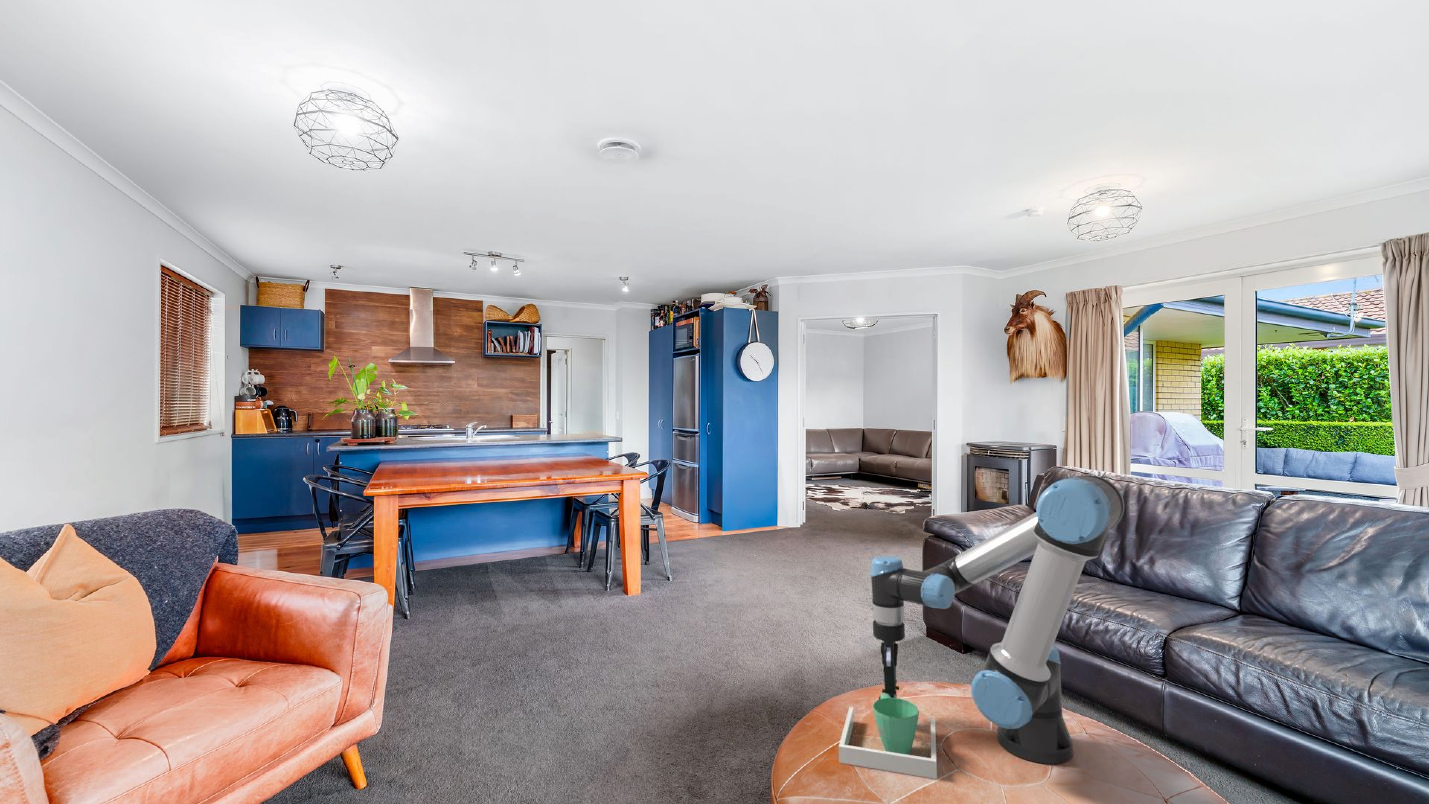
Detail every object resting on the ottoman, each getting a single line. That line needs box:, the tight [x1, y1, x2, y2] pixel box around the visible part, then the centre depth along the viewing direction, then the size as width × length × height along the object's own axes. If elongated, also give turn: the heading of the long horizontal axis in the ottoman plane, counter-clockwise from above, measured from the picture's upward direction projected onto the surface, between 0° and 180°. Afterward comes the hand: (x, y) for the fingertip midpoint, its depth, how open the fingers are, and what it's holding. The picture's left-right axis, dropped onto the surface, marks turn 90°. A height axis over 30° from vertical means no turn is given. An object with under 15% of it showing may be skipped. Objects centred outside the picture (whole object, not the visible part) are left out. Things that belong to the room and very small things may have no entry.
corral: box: [838, 706, 938, 780], centre depth 135 cm, size 20×19×4 cm
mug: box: [872, 693, 920, 755], centre depth 135 cm, size 15×10×10 cm
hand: (891, 718), depth 145 cm, fingers closed
